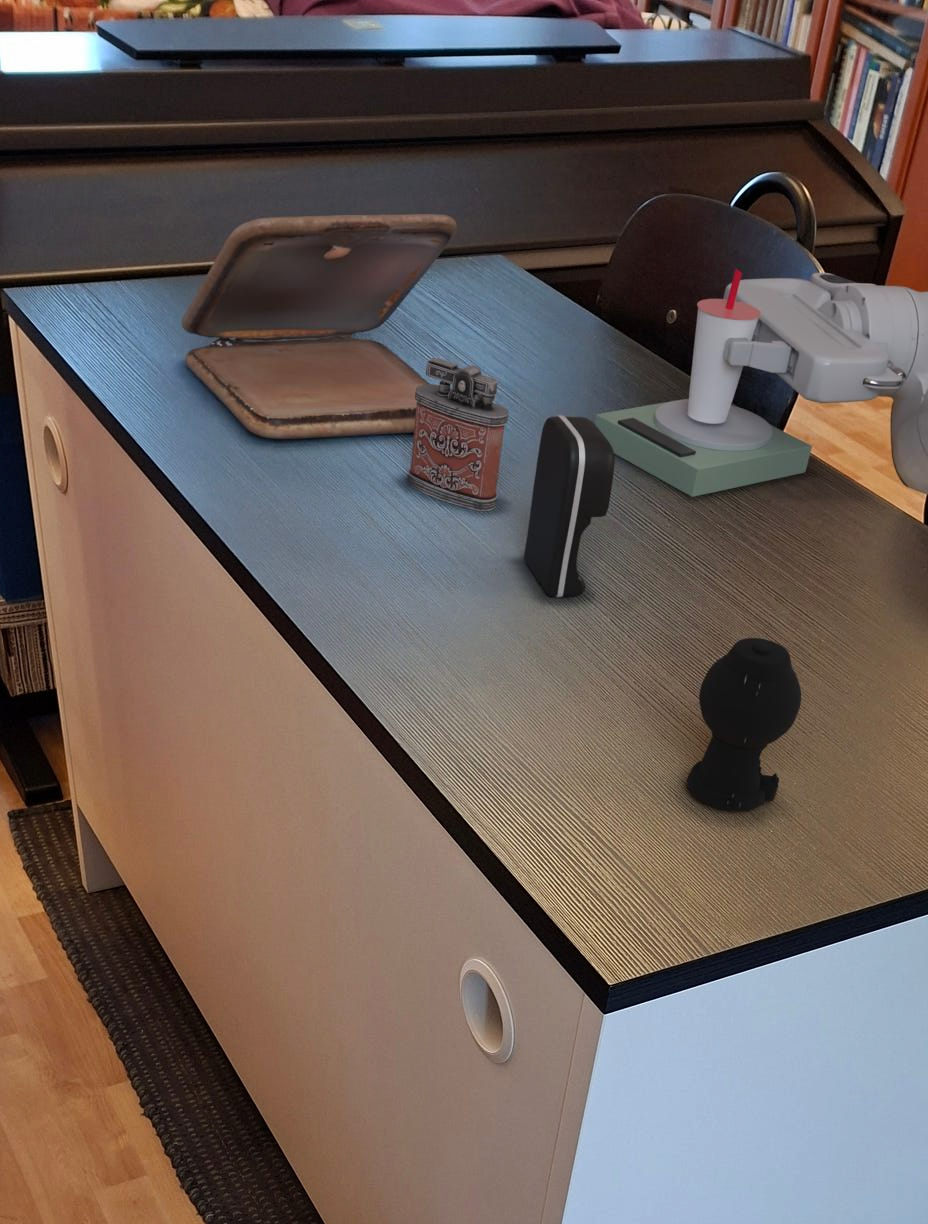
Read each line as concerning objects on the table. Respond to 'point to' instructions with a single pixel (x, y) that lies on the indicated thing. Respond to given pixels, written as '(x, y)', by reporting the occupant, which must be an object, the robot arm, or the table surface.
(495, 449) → the lighter
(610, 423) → the kitchen scale
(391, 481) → the table surface
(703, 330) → the cup
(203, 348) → the case
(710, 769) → the gumball machine
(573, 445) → the battery charger
